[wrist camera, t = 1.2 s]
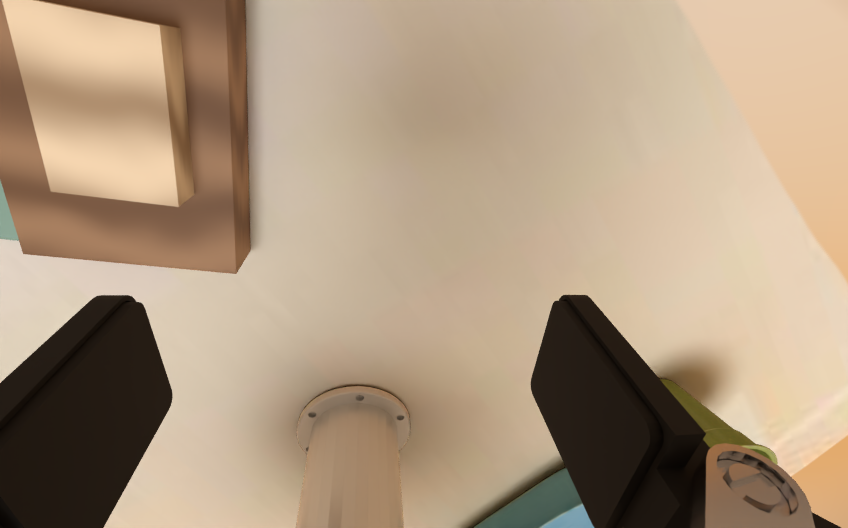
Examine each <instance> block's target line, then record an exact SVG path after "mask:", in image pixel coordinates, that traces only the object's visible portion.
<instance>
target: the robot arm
mask: <svg viewBox="0 0 848 528" xmlns="http://www.w3.org/2000/svg"><path fill="white" fill-rule="evenodd" d="M531 390H532V394H533V396H534V398H535V401H536V403H537V405H538V407H539V409H540V412H541V414H542V416H543V418H544V420H545V422H546V425H547V427H548V429H549V431H550V433H551V436H552V438H553V440H554V442H555V444H556V447H557V449H558V451H559V453H560V455H561V457H562V460H563V462H564V464H565V466H566V468H567V471H568V473H569V475H570V477H571V479H572V482H573V484H574V486H575V488H576V490H577V492H578V495H579V497H580V499H581V501H582V503H583V506H584V508H585V510H586V512H587V514H588V517H589V519H590V521H591V523H592V525H593V527H594V528H841V527H839V526H837V525H835V524H833V523H831V522H829V521H827V520H826V519H824V518H822V517H820V516H818V515H816V514H814V513H812V512H811V507H810V505H809V502H808V500H807V498H806V496H805V494H804V492H803V491H802V489H801V488H800V487H799V486H798V484H797V483H796V481H794V480H793V479H792V478H791V477H790V476H789V475H788V474H787V473H786V472H785V471H784V470H783V469H782V468H780V467H779V466H778V465H776V464H775V463H774V462H772V461H771V460H769V459H768V458H766V457H764V456H762V455H761V454H759V453H757V452H755V451H753V450H751V449H748V448H745V447H742V446H739V445H734V444H727V443H723V444H717V445H714V446H713V447H712V448H710V447H709V446H708V445H707V444H706V442H705V441H704V440H703V438H704V437H705V435H706V433H705V432H704V430H703V429H702V428H701V427H700V426H699V425H698V423H697V422H696V421H695V420H694V419H693V418H692V416H691V415H690V414H689V413H688V412H687V411H686V409H685V408H684V407H683V406H682V405H681V404H680V402H679V401H678V400H677V399H676V398H675V397H674V395H673V394H672V393H671V392H670V391H669V390H668V388H667V387H666V386H665V385H664V384H663V383H662V381H661V380H660V379H659V378H658V377H657V376H656V374H655V373H654V372H653V371H652V370H651V369H650V367H649V366H648V365H647V364H646V363H645V362H644V360H643V359H642V358H641V357H640V356H639V355H638V353H637V352H636V351H635V350H634V349H633V348H632V346H631V345H630V344H629V343H628V342H627V340H626V339H625V338H624V337H623V336H622V335H621V333H620V332H619V331H618V330H617V329H616V328H615V326H614V325H613V324H612V323H611V322H610V321H609V319H608V318H607V317H606V316H605V315H604V314H603V312H602V311H601V310H600V309H599V308H598V307H597V305H596V304H595V303H594V302H593V301H592V300H591V298H590V297H588V296H587V295H563V296H561V298H560V299H559V301H555V302H554V303H553V305H552V308H551V312H550V315H549V319H548V322H547V326H546V329H545V333H544V336H543V340H542V343H541V347H540V350H539V354H538V357H537V361H536V364H535V368H534V371H533V375H532V379H531ZM171 403H172V389H171V386H170V383H169V380H168V377H167V374H166V371H165V368H164V365H163V362H162V359H161V356H160V353H159V350H158V347H157V344H156V341H155V338H154V335H153V332H152V329H151V326H150V322H149V319H148V316H147V313H146V310H145V308H144V306H143V304H142V303H140V302H136V301H135V299H134V298H133V297H132V296H129V295H101V296H96V297H95V298H93V299H92V300H91V301H90V302H88V303H87V304H86V305H85V306H84V307H83V308H82V309H81V310H80V311H79V312H78V313H76V314H75V315H74V316H73V317H72V318H71V319H70V320H69V321H68V322H67V323H65V324H64V325H63V326H62V327H61V328H60V329H59V330H58V331H57V332H56V333H55V334H53V335H52V336H51V337H50V338H49V339H48V340H47V341H46V342H45V343H44V344H42V345H41V346H40V347H39V348H38V349H37V350H36V351H35V352H34V353H33V354H32V355H30V356H29V357H28V358H27V359H26V360H25V361H24V362H23V363H22V364H21V365H20V366H18V367H17V368H16V369H15V370H14V371H13V372H12V373H11V374H10V375H9V376H7V377H6V378H5V379H4V380H3V381H2V382H1V383H0V528H103V527H104V525H105V524H106V522H107V520H108V518H109V516H110V515H111V513H112V511H113V509H114V507H115V506H116V504H117V502H118V500H119V498H120V497H121V495H122V493H123V491H124V489H125V488H126V486H127V484H128V482H129V480H130V479H131V477H132V475H133V473H134V471H135V470H136V468H137V466H138V464H139V462H140V461H141V459H142V457H143V455H144V453H145V452H146V450H147V448H148V446H149V444H150V443H151V441H152V439H153V437H154V435H155V434H156V432H157V430H158V428H159V426H160V425H161V423H162V421H163V419H164V417H165V416H166V414H167V412H168V410H169V408H170V406H171ZM410 428H411V426H410V417H409V414H408V411H407V409H406V408H405V406H404V405H403V403H402V402H400V401H399V400H398V399H397V398H396V397H394V396H393V395H391V394H390V393H387V392H385V391H383V390H380V389H376V388H372V387H364V386H350V387H343V388H338V389H334V390H331V391H328V392H326V393H324V394H322V395H320V396H318V397H316V398H315V399H314V400H313V401H311V402H310V403H309V404H308V405H307V406H306V407H305V409H304V410H303V411H302V413H301V415H300V417H299V422H298V426H297V438H298V442H299V444H300V446H301V448H302V449H303V451H304V452H305V453H306V454H307V461H306V468H305V474H304V480H303V486H302V492H301V499H300V505H299V511H298V517H297V524H296V528H404V524H403V509H402V495H401V480H400V465H399V451H400V450H401V449H402V448H403V447H404V445H405V444H406V442H407V440H408V438H409V435H410Z"/></svg>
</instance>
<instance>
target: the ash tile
mask: <svg viewBox="0 0 848 528" xmlns="http://www.w3.org/2000/svg"><path fill="white" fill-rule="evenodd" d="M2 2H3V6H4V10H5V14H6V18H7V22H8V26H9V30H10V34H11V38H12V42H13V46H14V49H15V53H16V57H17V61H18V65H19V69H20V73H21V77H22V81H23V85H24V89H25V93H26V96H27V100H28V104H29V108H30V112H31V116H32V120H33V124H34V128H35V132H36V136H37V139H38V143H39V147H40V151H41V155H42V159H43V163H44V167H45V171H46V175H47V179H48V183H49V186H50V190H51V192H58V193H67V194H75V195H83V196H91V197H100V198H108V199H116V200H125V201H133V202H141V203H150V204H158V205H166V206H174V207H179V206H181V205H182V204H183V203H184V202H186V201H187V200H188V199H189V198H191V197H192V196H193V195H194V184H193V173H192V161H191V149H190V138H189V126H188V114H187V103H186V91H185V79H184V68H183V56H182V44H181V33H180V28H177V27H172V26H167V25H162V24H157V23H152V22H147V21H142V20H137V19H132V18H127V17H121V16H116V15H111V14H106V13H101V12H96V11H91V10H86V9H81V8H76V7H71V6H66V5H61V4H56V3H51V2H46V1H41V0H2Z"/></svg>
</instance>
